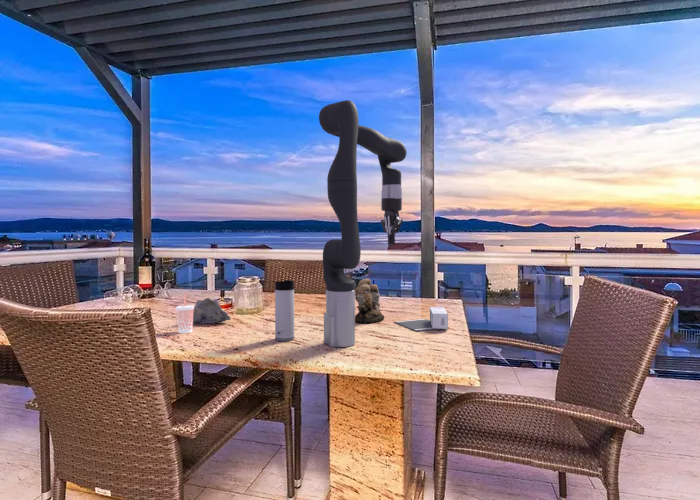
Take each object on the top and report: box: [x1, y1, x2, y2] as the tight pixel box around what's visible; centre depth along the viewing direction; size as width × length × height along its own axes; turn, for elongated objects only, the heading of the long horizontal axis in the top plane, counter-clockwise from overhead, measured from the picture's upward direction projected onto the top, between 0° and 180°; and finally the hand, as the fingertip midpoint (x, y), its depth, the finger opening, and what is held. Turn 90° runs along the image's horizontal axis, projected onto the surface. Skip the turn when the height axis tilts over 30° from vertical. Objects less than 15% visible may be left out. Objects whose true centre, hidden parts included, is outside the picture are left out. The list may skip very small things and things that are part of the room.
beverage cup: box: [175, 292, 195, 334], centre depth 146 cm, size 6×6×14 cm
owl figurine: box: [355, 278, 385, 325], centre depth 167 cm, size 18×12×17 cm, turn 159°
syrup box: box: [429, 306, 449, 330], centre depth 156 cm, size 6×6×14 cm
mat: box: [394, 318, 450, 333], centre depth 157 cm, size 14×16×1 cm
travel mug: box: [274, 279, 295, 343], centre depth 136 cm, size 6×7×20 cm
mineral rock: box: [193, 297, 231, 325], centre depth 159 cm, size 13×11×10 cm
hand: (391, 244), depth 153 cm, fingers closed
